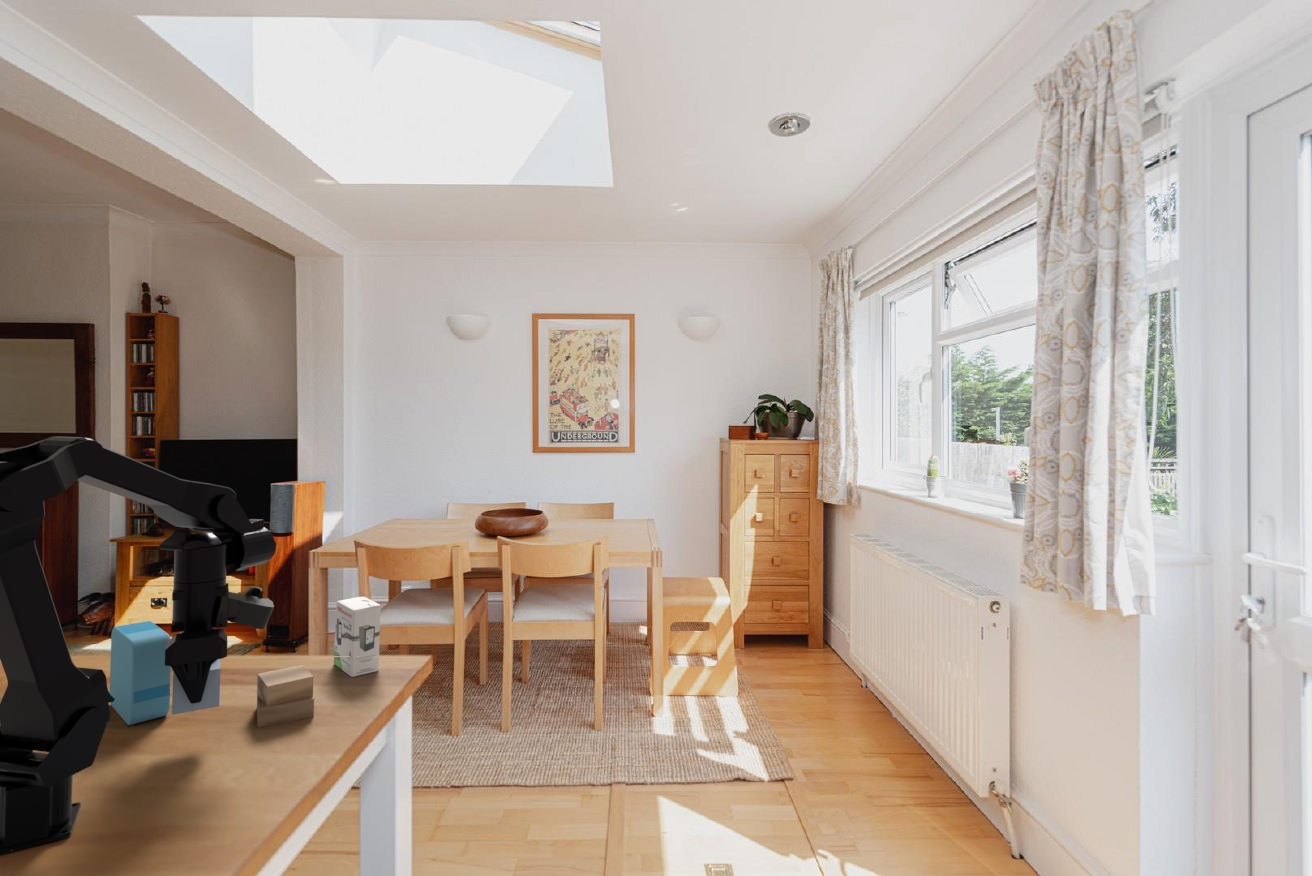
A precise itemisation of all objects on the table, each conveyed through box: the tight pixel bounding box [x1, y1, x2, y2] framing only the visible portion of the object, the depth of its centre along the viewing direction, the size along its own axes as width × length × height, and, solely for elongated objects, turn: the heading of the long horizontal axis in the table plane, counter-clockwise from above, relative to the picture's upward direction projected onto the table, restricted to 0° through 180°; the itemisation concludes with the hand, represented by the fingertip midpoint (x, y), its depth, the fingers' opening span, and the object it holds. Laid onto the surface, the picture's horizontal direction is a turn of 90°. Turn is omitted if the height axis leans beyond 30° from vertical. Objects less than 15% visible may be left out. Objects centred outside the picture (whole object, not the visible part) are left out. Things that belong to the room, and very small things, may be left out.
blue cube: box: [171, 659, 221, 716], centre depth 84 cm, size 5×5×5 cm
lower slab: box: [256, 695, 315, 728], centre depth 94 cm, size 7×7×3 cm
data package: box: [109, 620, 172, 726], centre depth 93 cm, size 12×4×12 cm, turn 52°
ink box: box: [333, 596, 382, 678], centre depth 113 cm, size 9×5×12 cm, turn 47°
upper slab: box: [256, 664, 314, 707], centre depth 94 cm, size 6×6×3 cm
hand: (196, 695), depth 84 cm, fingers closed on blue cube, 5 cm apart
